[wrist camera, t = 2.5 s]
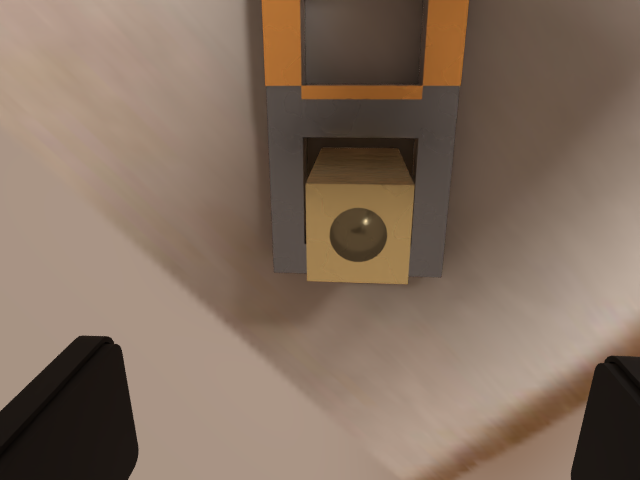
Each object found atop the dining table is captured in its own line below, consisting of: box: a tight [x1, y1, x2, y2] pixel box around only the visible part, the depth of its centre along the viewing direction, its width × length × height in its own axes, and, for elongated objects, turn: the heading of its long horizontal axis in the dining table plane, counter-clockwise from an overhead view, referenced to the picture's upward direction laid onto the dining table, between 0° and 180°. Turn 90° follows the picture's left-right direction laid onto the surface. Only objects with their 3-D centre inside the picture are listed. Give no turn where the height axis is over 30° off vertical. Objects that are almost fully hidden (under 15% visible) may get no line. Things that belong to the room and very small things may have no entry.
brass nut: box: [306, 147, 415, 284], centre depth 22 cm, size 4×4×8 cm
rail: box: [262, 0, 469, 277], centre depth 22 cm, size 9×25×2 cm, turn 0°
